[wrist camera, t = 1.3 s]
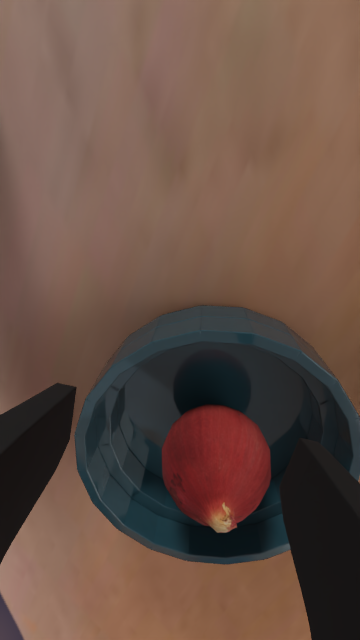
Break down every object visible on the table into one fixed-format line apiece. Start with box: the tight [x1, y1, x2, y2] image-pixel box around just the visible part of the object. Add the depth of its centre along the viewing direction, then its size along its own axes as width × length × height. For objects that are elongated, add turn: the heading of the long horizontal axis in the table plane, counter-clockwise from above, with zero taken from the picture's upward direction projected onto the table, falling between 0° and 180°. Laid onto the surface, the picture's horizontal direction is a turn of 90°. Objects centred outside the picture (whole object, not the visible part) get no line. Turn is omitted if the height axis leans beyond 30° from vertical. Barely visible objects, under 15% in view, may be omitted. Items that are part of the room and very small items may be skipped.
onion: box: [162, 404, 271, 533], centre depth 18 cm, size 6×6×8 cm
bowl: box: [74, 305, 360, 565], centre depth 20 cm, size 15×15×4 cm
